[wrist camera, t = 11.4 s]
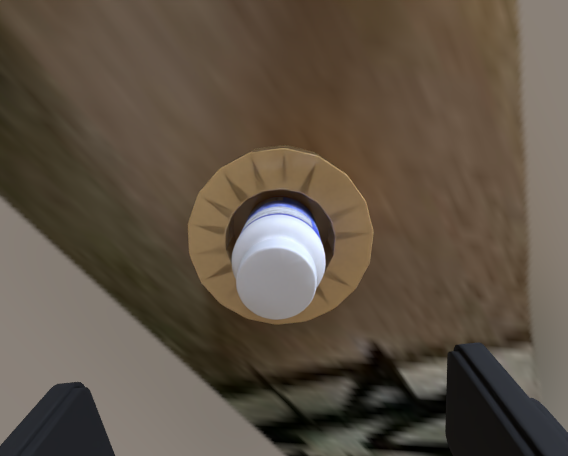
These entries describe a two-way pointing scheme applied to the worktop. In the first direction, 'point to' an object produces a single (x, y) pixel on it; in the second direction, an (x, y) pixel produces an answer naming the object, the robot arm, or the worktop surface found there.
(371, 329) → the worktop surface
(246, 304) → the pill bottle
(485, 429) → the robot arm
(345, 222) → the tape roll
